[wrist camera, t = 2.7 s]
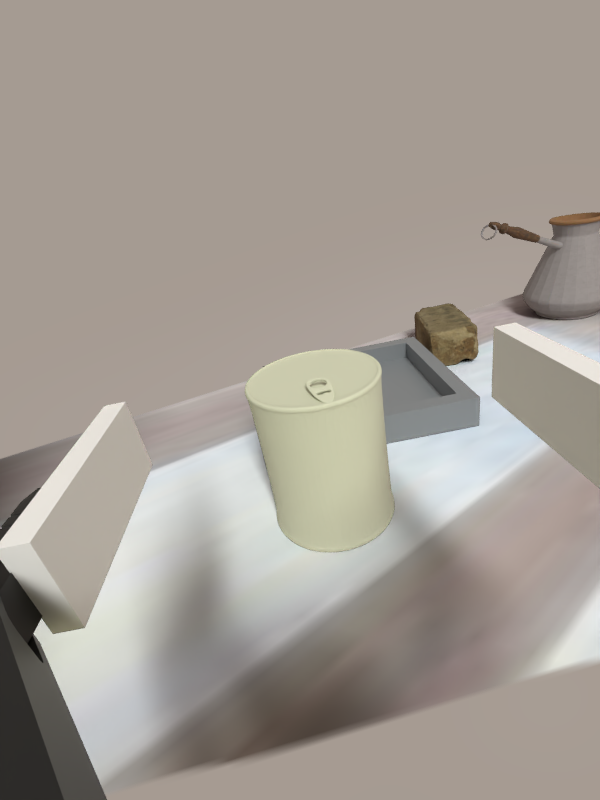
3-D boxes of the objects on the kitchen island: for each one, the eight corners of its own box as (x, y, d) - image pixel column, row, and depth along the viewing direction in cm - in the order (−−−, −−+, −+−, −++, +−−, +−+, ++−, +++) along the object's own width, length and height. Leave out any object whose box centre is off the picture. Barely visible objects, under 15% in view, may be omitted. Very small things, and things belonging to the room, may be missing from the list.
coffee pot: (558, 295, 67) (569, 193, 60) (634, 307, 57) (658, 187, 50) (452, 331, 61) (452, 223, 54) (518, 352, 51) (527, 223, 44)
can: (290, 569, 28) (250, 417, 22) (269, 487, 36) (236, 361, 30) (416, 530, 29) (407, 376, 23) (368, 459, 37) (353, 333, 32)
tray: (270, 466, 39) (263, 439, 37) (267, 387, 55) (262, 366, 53) (479, 425, 39) (479, 397, 37) (414, 358, 55) (413, 336, 53)
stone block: (453, 333, 60) (453, 300, 58) (480, 364, 50) (481, 325, 48) (413, 339, 61) (411, 306, 59) (432, 371, 51) (431, 333, 49)
